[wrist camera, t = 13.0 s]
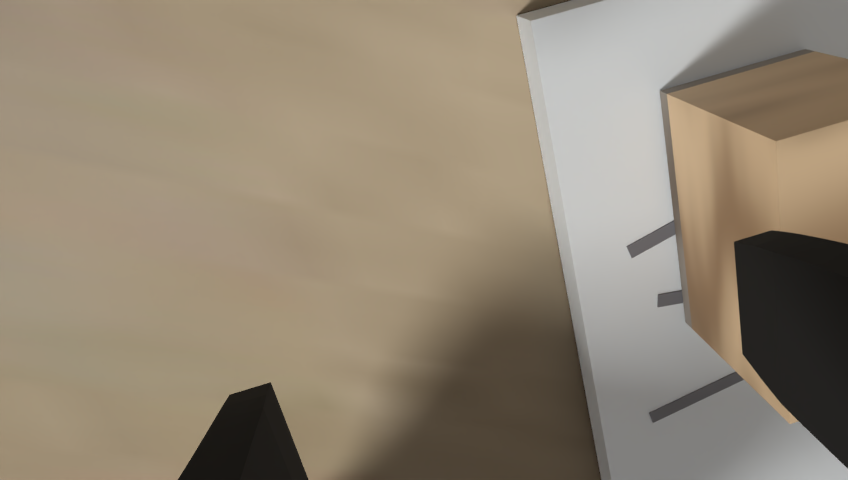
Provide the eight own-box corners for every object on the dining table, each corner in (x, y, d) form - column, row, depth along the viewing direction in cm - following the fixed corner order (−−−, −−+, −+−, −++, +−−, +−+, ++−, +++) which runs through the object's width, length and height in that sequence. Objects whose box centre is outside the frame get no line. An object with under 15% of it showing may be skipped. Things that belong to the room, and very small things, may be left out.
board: (874, 447, 27) (900, 470, 26) (611, 534, 27) (625, 561, 26) (880, -86, 20) (915, -86, 19) (516, 15, 19) (531, 20, 18)
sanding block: (812, 282, 23) (947, 373, 18) (685, 322, 22) (790, 424, 18) (805, 48, 20) (963, 86, 15) (659, 90, 20) (776, 141, 15)
